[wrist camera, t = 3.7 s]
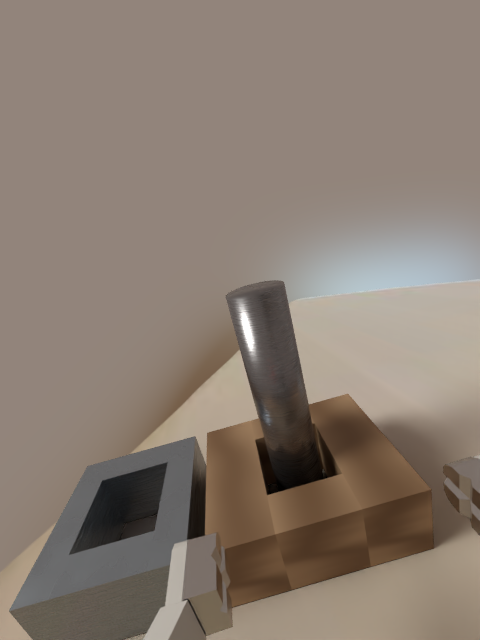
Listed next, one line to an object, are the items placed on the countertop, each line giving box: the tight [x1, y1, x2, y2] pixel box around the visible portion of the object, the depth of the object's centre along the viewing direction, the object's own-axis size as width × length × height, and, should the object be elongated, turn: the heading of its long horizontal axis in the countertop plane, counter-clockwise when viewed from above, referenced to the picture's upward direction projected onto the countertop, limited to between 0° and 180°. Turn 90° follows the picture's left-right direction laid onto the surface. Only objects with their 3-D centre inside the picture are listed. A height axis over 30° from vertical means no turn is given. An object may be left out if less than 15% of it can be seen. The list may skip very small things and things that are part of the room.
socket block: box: [9, 437, 207, 640], centre depth 19 cm, size 9×9×4 cm
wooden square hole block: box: [205, 394, 434, 607], centre depth 19 cm, size 12×9×4 cm
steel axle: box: [226, 281, 323, 492], centre depth 17 cm, size 3×3×16 cm
